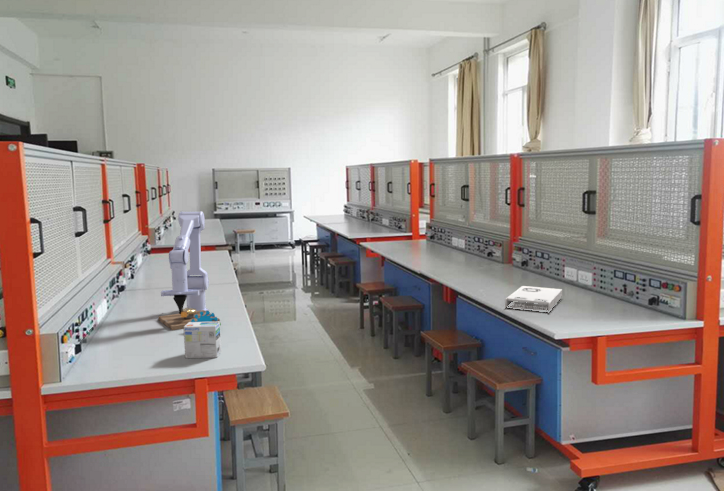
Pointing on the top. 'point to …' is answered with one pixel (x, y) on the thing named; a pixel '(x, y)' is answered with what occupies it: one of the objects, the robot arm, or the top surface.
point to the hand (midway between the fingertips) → (181, 313)
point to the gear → (205, 317)
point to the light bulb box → (202, 339)
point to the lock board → (180, 320)
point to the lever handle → (187, 312)
